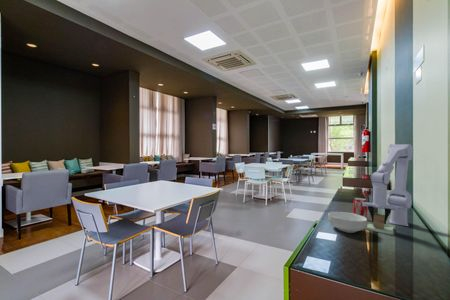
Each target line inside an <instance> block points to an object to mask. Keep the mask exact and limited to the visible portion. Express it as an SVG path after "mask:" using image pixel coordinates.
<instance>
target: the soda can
mask: <svg viewBox="0 0 450 300" xmlns="http://www.w3.org/2000/svg"><path fill="white" fill-rule="evenodd" d="M363 202H368V201H367V199H366V198H363V197H362V198H361V197H354V200H353V204H352V213H353V214H357V215H361V216H363V217H365V218H366V219H367V220H368V207H367V206H362V203H363Z"/></svg>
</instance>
